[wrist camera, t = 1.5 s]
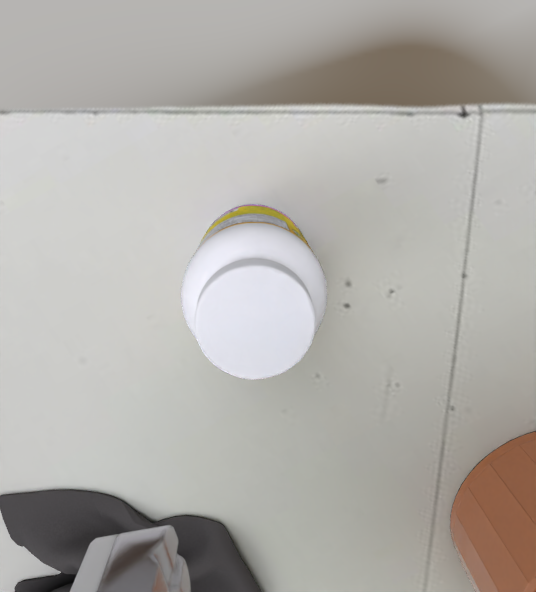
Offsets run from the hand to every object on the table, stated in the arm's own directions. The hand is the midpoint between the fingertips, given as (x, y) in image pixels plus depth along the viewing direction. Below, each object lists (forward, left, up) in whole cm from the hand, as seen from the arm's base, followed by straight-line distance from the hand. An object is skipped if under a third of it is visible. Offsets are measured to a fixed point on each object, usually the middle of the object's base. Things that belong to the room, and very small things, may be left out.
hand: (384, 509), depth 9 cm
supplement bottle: (+2, -2, -23) cm, 23 cm away
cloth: (+27, +12, -23) cm, 37 cm away
